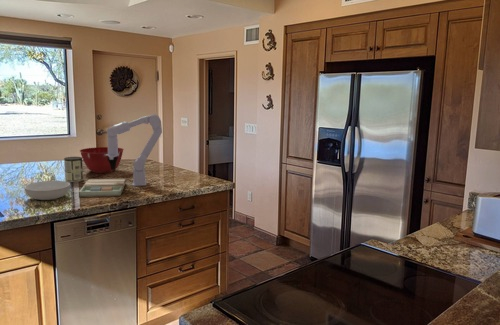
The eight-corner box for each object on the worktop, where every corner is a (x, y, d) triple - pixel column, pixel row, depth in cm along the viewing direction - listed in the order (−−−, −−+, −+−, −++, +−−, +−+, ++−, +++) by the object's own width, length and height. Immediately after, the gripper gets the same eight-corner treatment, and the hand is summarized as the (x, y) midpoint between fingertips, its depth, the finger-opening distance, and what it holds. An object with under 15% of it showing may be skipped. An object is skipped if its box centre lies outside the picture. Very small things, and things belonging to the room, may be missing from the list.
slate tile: (89, 189, 208) (90, 192, 209) (99, 189, 210) (99, 192, 210) (91, 187, 213) (91, 190, 214) (101, 187, 214) (101, 190, 215)
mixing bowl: (71, 173, 257) (70, 151, 255) (95, 166, 285) (95, 145, 282) (110, 176, 252) (109, 153, 250) (131, 169, 280) (130, 148, 277)
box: (83, 190, 216) (83, 186, 216) (122, 189, 221) (122, 185, 220) (78, 196, 204) (78, 191, 203) (120, 195, 208) (120, 191, 208)
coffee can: (73, 177, 246) (72, 156, 244) (86, 179, 243) (85, 157, 241) (61, 181, 236) (60, 158, 234) (75, 182, 234) (74, 159, 231)
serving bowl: (17, 198, 197) (16, 185, 195) (56, 190, 214) (56, 178, 213) (39, 206, 185) (38, 192, 184) (78, 197, 203) (78, 184, 201)
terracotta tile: (101, 189, 210) (101, 192, 210) (111, 189, 211) (111, 192, 211) (103, 186, 215) (103, 190, 215) (112, 186, 216) (112, 190, 216)
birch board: (88, 183, 232) (88, 179, 231) (125, 183, 236) (125, 178, 236) (83, 190, 216) (83, 185, 216) (122, 189, 221) (122, 184, 220)
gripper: (107, 145, 234) (107, 167, 236) (103, 148, 220) (104, 171, 222) (119, 145, 236) (119, 167, 238) (116, 148, 222) (117, 171, 224)
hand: (113, 169), depth 230 cm, fingers closed
